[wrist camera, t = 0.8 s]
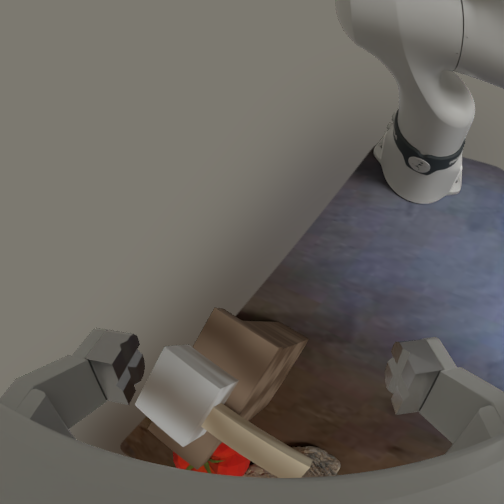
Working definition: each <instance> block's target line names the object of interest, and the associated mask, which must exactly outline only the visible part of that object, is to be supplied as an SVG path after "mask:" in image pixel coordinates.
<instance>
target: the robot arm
mask: <svg viewBox="0 0 504 504" xmlns="http://www.w3.org/2000/svg"><path fill="white" fill-rule="evenodd" d="M335 6H336V13H337V17H338V20H339V22H340V24H341V26H342V28H343V30H344V31H345V33H346V34H347V35H348V37H349V38H350V39H351V40H352V41H353V42H354V43H355V44H356V45H358V46H360V47H361V48H363V49H365V50H367V51H368V52H369V53H371V54H372V55H374V56H375V57H376V58H377V59H379V60H380V61H381V62H382V63H383V64H384V65H385V66H386V68H387V69H388V70H389V71H390V72H391V74H392V75H393V77H394V78H395V80H396V82H397V85H398V89H399V109H398V111H395V112H394V114H393V116H392V120H393V121H394V122H393V124H392V123H389V124H388V126H387V129H388V130H387V132H385V134H384V136H383V137H382V138H381V140H380V141H379V142H378V144H377V145H376V146H375V148H374V151H373V154H374V156H375V157H376V159H377V160H378V161H379V162H380V164H381V166H382V170H383V174H384V177H385V179H386V181H387V183H388V184H389V186H390V187H391V188H392V189H393V190H394V191H395V192H396V193H397V194H398V195H400V196H401V197H403V198H404V199H406V200H408V201H411V202H414V203H420V204H427V203H432V202H435V201H438V200H439V199H441V198H442V197H444V196H446V195H453V194H457V193H459V192H460V189H461V178H462V151H463V147H464V144H465V137H466V135H467V133H468V130H469V128H470V126H471V124H472V122H473V119H474V116H475V104H474V100H473V97H472V94H471V92H470V91H469V89H468V88H467V86H466V85H465V83H464V82H463V80H462V79H461V78H460V77H459V76H458V75H457V74H455V73H454V72H453V71H455V72H458V73H461V74H465V75H468V76H471V77H474V78H477V79H480V80H482V81H485V82H488V83H490V84H493V85H496V86H498V87H500V88H503V89H504V0H335ZM381 147H382V148H381ZM455 182H457V183H455ZM139 345H140V344H139V341H138V338H137V336H136V335H134V334H130V333H124V332H118V331H112V330H106V329H100V328H96V329H93V330H92V332H91V333H90V334H89V335H88V337H87V338H86V339H85V340H84V341H83V343H82V344H81V345H80V346H79V348H78V349H77V350H76V351H75V352H74V354H73V355H72V356H70V355H67V356H65V357H63V358H61V359H59V360H57V361H54V362H52V363H50V364H48V365H46V366H43V367H41V368H39V369H37V370H35V371H32V372H30V373H28V374H26V375H24V376H21V377H19V378H17V379H16V380H15V381H14V382H13V383H12V384H11V386H10V387H9V388H8V389H7V391H6V392H5V393H4V394H3V396H2V397H1V398H0V504H504V392H503V391H501V390H499V389H498V388H496V387H494V386H493V385H491V384H489V383H487V382H486V381H484V380H482V379H480V378H479V377H477V376H475V375H474V374H472V373H470V372H468V371H467V370H465V369H463V368H461V367H459V368H457V367H456V365H455V363H454V362H453V360H452V358H451V357H450V355H449V354H448V352H447V351H446V349H445V348H444V346H443V344H442V343H441V341H440V340H439V339H438V338H436V337H432V338H424V339H419V340H409V341H398V342H395V344H394V345H393V348H392V351H391V352H392V355H393V358H392V359H390V360H389V361H388V363H387V366H386V369H385V383H386V386H387V389H388V390H389V391H390V392H392V393H393V396H392V398H391V401H392V404H393V407H394V410H395V413H396V415H397V414H405V413H412V412H418V411H420V412H419V413H420V414H421V415H422V416H423V417H424V418H426V419H427V420H428V421H429V422H430V423H431V424H432V425H433V426H434V427H435V428H436V429H438V430H439V431H440V432H441V433H442V434H443V435H444V436H445V437H446V438H447V439H448V440H450V441H451V442H452V443H453V445H452V446H451V448H450V449H449V450H448V451H447V452H446V454H445V455H442V456H438V457H435V458H431V459H428V460H424V461H420V462H416V463H412V464H407V465H403V466H398V467H393V468H388V469H382V470H376V471H370V472H363V473H356V474H347V475H337V476H325V477H307V478H261V477H242V476H230V475H220V474H211V473H204V472H197V471H190V470H184V469H179V468H173V467H168V466H163V465H159V464H154V463H150V462H146V461H142V460H138V459H134V458H130V457H126V456H123V455H119V454H116V453H113V452H110V451H107V450H103V449H100V448H98V447H94V446H92V445H89V444H86V443H84V442H81V441H78V440H76V439H75V437H74V436H73V435H72V433H71V432H70V430H69V428H71V427H72V426H74V425H75V424H76V423H78V422H79V421H81V420H82V419H83V418H85V417H86V416H87V415H89V414H90V413H92V412H93V411H94V410H96V409H97V408H98V407H100V406H101V405H103V404H104V403H105V402H106V400H108V401H113V402H117V403H122V404H127V405H129V403H130V401H131V399H132V397H133V395H134V393H135V391H136V390H135V387H134V385H135V384H137V383H138V382H140V381H141V379H142V377H143V374H144V369H145V365H144V358H143V355H142V354H141V353H140V352H139V351H138V350H137V348H138V346H139Z"/></svg>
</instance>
